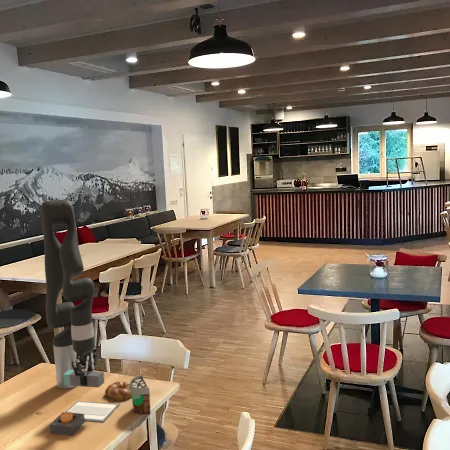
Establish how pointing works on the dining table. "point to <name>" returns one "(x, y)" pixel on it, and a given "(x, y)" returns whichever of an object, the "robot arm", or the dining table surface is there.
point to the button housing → (67, 425)
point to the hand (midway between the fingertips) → (87, 382)
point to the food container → (140, 395)
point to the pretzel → (118, 391)
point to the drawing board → (93, 410)
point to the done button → (66, 417)
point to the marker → (92, 378)
